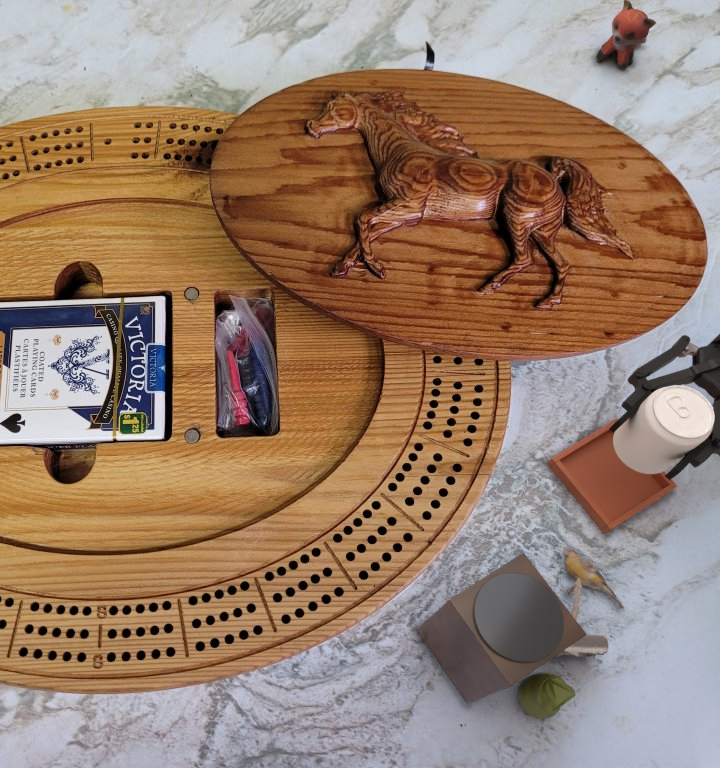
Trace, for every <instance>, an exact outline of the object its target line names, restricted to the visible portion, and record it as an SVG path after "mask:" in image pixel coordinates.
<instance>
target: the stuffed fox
mask: <svg viewBox="0 0 720 768" xmlns="http://www.w3.org/2000/svg"><path fill="white" fill-rule="evenodd" d="M656 25H657V22H656V21H655V20H654V19H653V18H649V16H648V15H647V14H646V13H645V12H644V11H643V10H642V9H641V10H640V9H637V8H634V7H633V5H632V3H631V1H630V0H623V5H622V10H621V11H620V12H618V14H616V15H615V16H614V17H613V19H612V22H611V31H612V34H611V36H610V37H609V38H608V39H607V41H605V42H604V43H603V44H602V45H601V48H600V49H599V50H598V51H597V53H596V56H595V59H596V63H598V64H600V61H602V60H604V59H606V58H608V57H610V56H609V55H610V54H612V53H613V52H614V51H616V52H617V57H616V59H617V67H618V68H622V69H623V70H625V69H627V67H629V66H630V65H632V64H633V63H634V60H633V59H634V53H635V50H636V47H639V46H641V45H643V44H646V43H647V38H648V35H649V32H650V29H651V28H653V27H654V26H656Z"/></svg>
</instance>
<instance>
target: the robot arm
mask: <svg viewBox="0 0 720 768" xmlns="http://www.w3.org/2000/svg"><path fill="white" fill-rule="evenodd" d="M687 356H691V364H692V365H691V366H689V367H688V368H684V369H681V370H678V371H673V372H670V373H667V374H664V375H661V376H658V377H654V378H651V379H647V378H648V377H649V376H651V375H653V374H655V373H656V372H658V371H660V370H661V369H662V368H665V367H666V366H667V365H669V364H671V363H672V362H674V361H675V360H676V359H677V358H679V359H681V358H685V357H686V358H687ZM627 383H628V384H629V385H632V386H633V388H634V391H633V392H632V393H631V394H630V395H629V396H628V397H626V399H624V401H623V402H622V403H621V408H623V409H624V410H625V412H624V413H623V414H622V415H621V416H620V417H619V418H617V419H618V420H617V421H616V422H615V423H614V424H613V425H612V426H611V427H610V428H609V430H611V431H612V432H613V433H614V432H615V431H616V430H617V429H618V428H619V427H620V426H621V425H622V424H623V423H624V422H626V421H627V420H628V419H629V418H630V417H631V416H632V415H633V414H634V413H635V412H636V411H637V410H638V409H639V407H640V405H641V404H642V403H643V401H644V400H645V399H646V398H647V397H649V396H650V395H651V394H652V393H653V392H654V391H656V390H658V389H660V388H663V387H668V386H673V385H682V386H687V385H689V384H695V385H696V386H697V387H699V388H701V389H702V390H703V391H705V392H706V393H707V394H708V395H709V396H710V397H711V398H712V399H713V402H712V408H713V410H714V415H715V420H714V424H713V429H712V431H711V433H710V435H709V436H708V438H707V439H706V440H704V441H703V442H702V443H701V444H699V445H698V446H697V447H695V448H694V449H693V450H692V451H690V452H689V453H688V454H686V455H685V456H684V457H682V458H681V459H680V460H679V461H677V462H676V463H675V464H674V466H673V467H672V468H671V469H670V470H669V471H668V472H667V473H666V475H665V477H666V478H667V479H668V480H671V479H672V480H673V479H674V478H675V477H676V476H678V475H679V474H680V473H681V472H682V471H684V469H686V467H688V466H689V464H690V465H691V466H692V467H694V468H698V467H700V466H701V465H702V464H704V463H705V462H706V461H707V460H708V459H709V458H710V457H711V456H712V455H713V454H715V455H718V457H719V458H720V333H719V334H718V335H717V336H716V337H714V338H713V340H711V341H710V342H709V343H708V344H707V345H704V346H700V347H699V346H697V345H695V344H693V343H692V342H691V337H690V336H688V335H686V334H684V335H682V336H680V338H678V340H677V341H675V343H673V344H672V346H671V347H670V348H669V349H667V350H665V351H664V352H662V353H660V354H659V355H657V356H656V357H654V358H652V359H651V360H649V361H648V362H646V363H643V365H641V366H639V367H637V368H636V369H635V370H634V371H633V372H632V373H631V374H630V375H629V377H627Z"/></svg>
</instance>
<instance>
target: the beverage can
mask: <svg viewBox="0 0 720 768" xmlns="http://www.w3.org/2000/svg"><path fill="white" fill-rule="evenodd" d="M714 420H715V415H714V410H713V405H712V404H711V402H710V401H709V400H708V398H707V397H706V396H705V395H703V394H702V393H701V392H700V391H698V390H697V389H695V388H693V387H690V386H687V385H673V386H668V387H663V388H660V389H658V390H656V391H654V392H653V393H652V394H651V395H650V396H649V397H647V398H646V399H645V400H644V401H643V403H642V404H641V405H640V407H639V409H638V410H637V411H636V412H635V413H634V414H633V415H632V416H631V417H630V418H629V419H628V420H627V421H626V422H624V423H623V424H622V425H621V426H620V427H619V428H618V429H617V430H616V431H615V433H614V436H613V445H614V449H615V451H616V454H617V455H618V457H619V458H620V459H621V461H622V462H623V463H624V464H625V465H627V466H628V467H629V468H631V469H633V470H635V471H637V472H640V473H644V474H657V473H661V472H663V471H665V472H666V471H667V470H668V469H670V468H671V467H672V466H673V465H676V464H677V463H678V462H679V461H680V460H681V459H682V458H683V457H684V456H685V455H686V454H688V453H689V452H690V451H692V450H693V449H694V448H695V447H697V446H698V445H699V444H701V443H702V442H703V441H704V440H706V439H707V438H708V436H709V435H710V433H711V431H712V429H713V424H714Z"/></svg>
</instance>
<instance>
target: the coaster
mask: <svg viewBox="0 0 720 768" xmlns="http://www.w3.org/2000/svg"><path fill="white" fill-rule="evenodd" d="M473 616H474V622H475V625H476V628H477V630H478V633H479V635H480V636H481V638H482V639H483V641H484V642H485V643H486V644H487V646H488V647H490V648H491V649H492V650H493V651H494V652H495V653H497V654H498V655H500V656H502V657H504V658H506V659H509V660H512V661H516V662H533V661H537V660H540V659H542V658H544V657H546V656H548V655H549V654H550V653H552V652H553V651H554V650H555V648H556V647H557V646H558V644H559V642H560V640H561V638H562V634H563V629H564V620H563V614H562V610H561V607H560V605H559V603H558V601H557V599H556V597H555V596H554V595H553V593H552V592H551V591H550V590H549V589H548V588H547V587H546V586H545V585H544V584H543V583H541V582H540V581H538V580H537V579H535V578H533V577H531V576H528V575H525V574H521V573H504V574H500V575H497V576H495V577H493V578H491V579H489V580H488V581H487V582H486V583H485V584H484V585H483V586H482V587H481V588H480V590H479V591H478V593H477V595H476V598H475V601H474V606H473Z"/></svg>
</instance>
